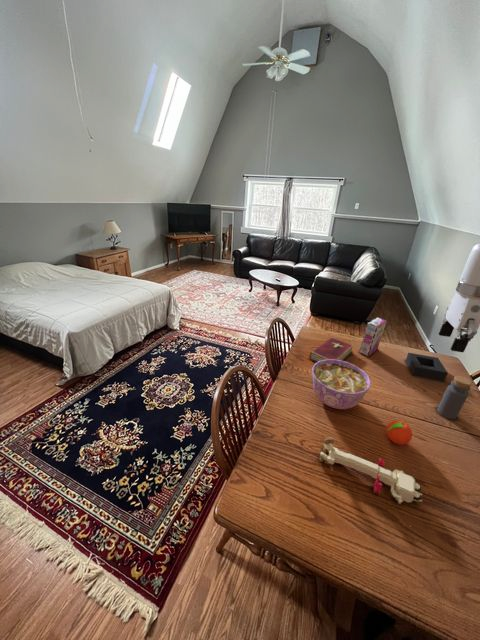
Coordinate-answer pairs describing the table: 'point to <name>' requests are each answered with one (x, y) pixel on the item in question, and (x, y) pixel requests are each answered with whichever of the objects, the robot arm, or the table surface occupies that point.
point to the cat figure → (375, 473)
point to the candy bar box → (372, 336)
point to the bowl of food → (339, 383)
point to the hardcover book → (331, 350)
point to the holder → (426, 366)
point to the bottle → (454, 397)
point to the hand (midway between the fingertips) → (450, 343)
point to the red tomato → (399, 432)
